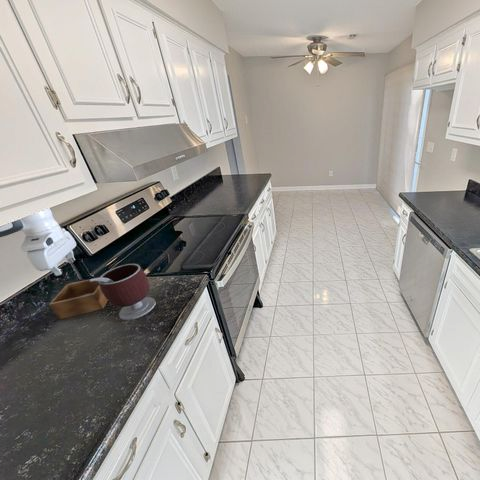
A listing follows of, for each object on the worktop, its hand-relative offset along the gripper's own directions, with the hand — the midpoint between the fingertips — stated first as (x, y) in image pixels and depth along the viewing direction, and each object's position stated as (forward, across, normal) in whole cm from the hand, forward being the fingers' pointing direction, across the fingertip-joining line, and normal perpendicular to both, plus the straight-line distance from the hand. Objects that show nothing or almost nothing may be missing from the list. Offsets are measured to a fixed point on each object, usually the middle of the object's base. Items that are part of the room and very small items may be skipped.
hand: (66, 267), depth 97 cm
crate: (+18, 0, 0) cm, 18 cm away
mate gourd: (+18, +13, +21) cm, 30 cm away
